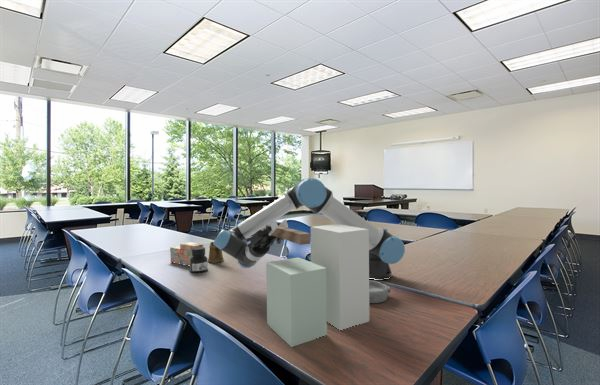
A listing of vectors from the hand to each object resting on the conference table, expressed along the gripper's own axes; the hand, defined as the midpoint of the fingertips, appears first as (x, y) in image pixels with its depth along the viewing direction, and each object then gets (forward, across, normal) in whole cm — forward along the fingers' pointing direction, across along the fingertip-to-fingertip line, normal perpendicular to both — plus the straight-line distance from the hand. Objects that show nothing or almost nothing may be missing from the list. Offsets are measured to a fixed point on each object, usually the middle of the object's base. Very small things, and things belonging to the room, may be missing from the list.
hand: (281, 223), depth 98 cm
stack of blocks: (-97, +14, +18) cm, 100 cm away
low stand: (-9, 0, -32) cm, 33 cm away
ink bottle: (-81, +11, +9) cm, 82 cm away
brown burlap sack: (-92, -3, +16) cm, 94 cm away
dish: (-15, -39, -28) cm, 50 cm away
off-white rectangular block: (-9, -17, -32) cm, 37 cm away
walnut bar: (+1, 0, -5) cm, 5 cm away
